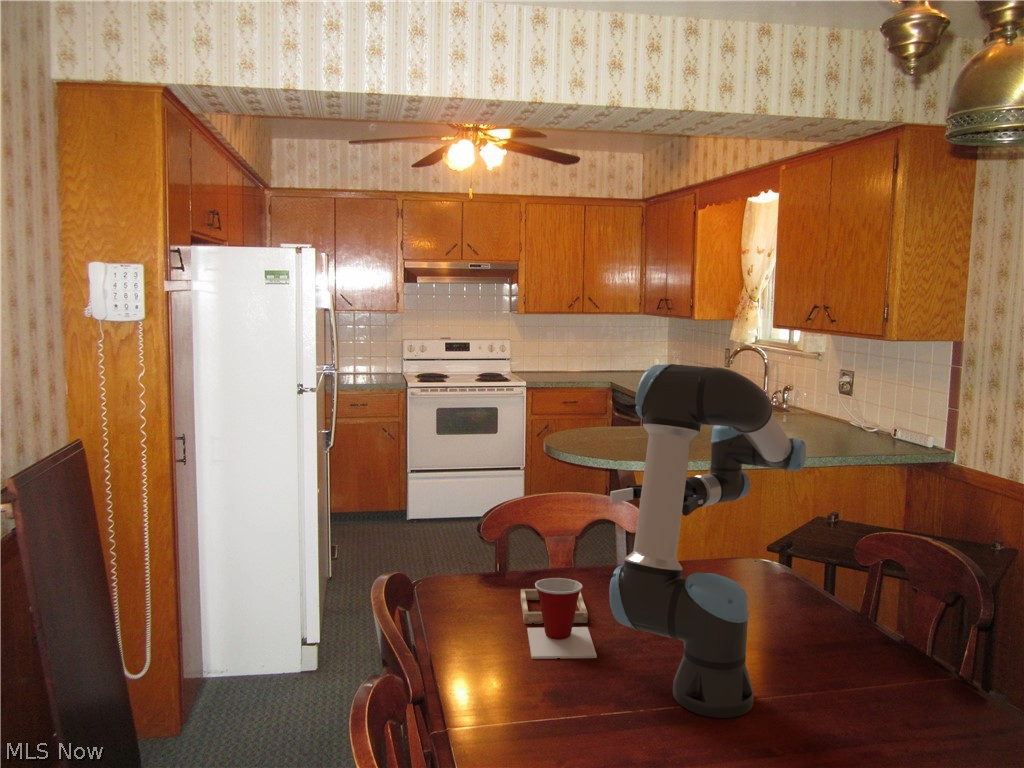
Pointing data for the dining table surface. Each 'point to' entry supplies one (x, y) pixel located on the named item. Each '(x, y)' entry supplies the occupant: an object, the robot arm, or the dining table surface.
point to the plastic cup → (558, 605)
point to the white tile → (561, 644)
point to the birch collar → (536, 617)
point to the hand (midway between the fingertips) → (630, 504)
